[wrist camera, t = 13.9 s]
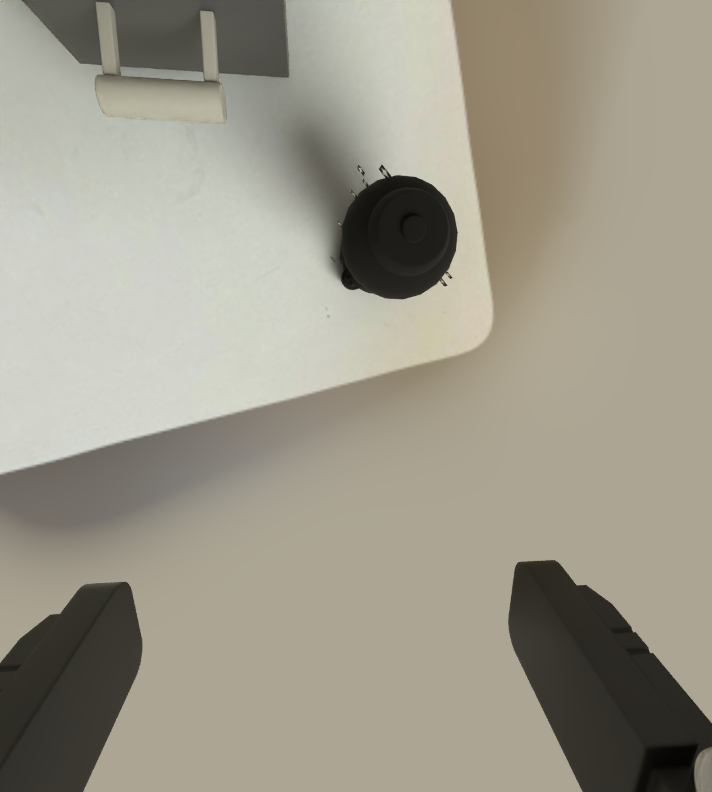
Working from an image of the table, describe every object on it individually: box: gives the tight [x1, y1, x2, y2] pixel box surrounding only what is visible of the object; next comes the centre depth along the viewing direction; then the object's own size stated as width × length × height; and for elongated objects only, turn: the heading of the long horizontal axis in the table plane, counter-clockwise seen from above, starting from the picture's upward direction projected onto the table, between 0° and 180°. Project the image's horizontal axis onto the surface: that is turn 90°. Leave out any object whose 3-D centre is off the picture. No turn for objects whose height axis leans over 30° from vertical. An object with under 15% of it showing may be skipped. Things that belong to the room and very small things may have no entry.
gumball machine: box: [331, 165, 458, 299], centre depth 23 cm, size 7×6×10 cm
